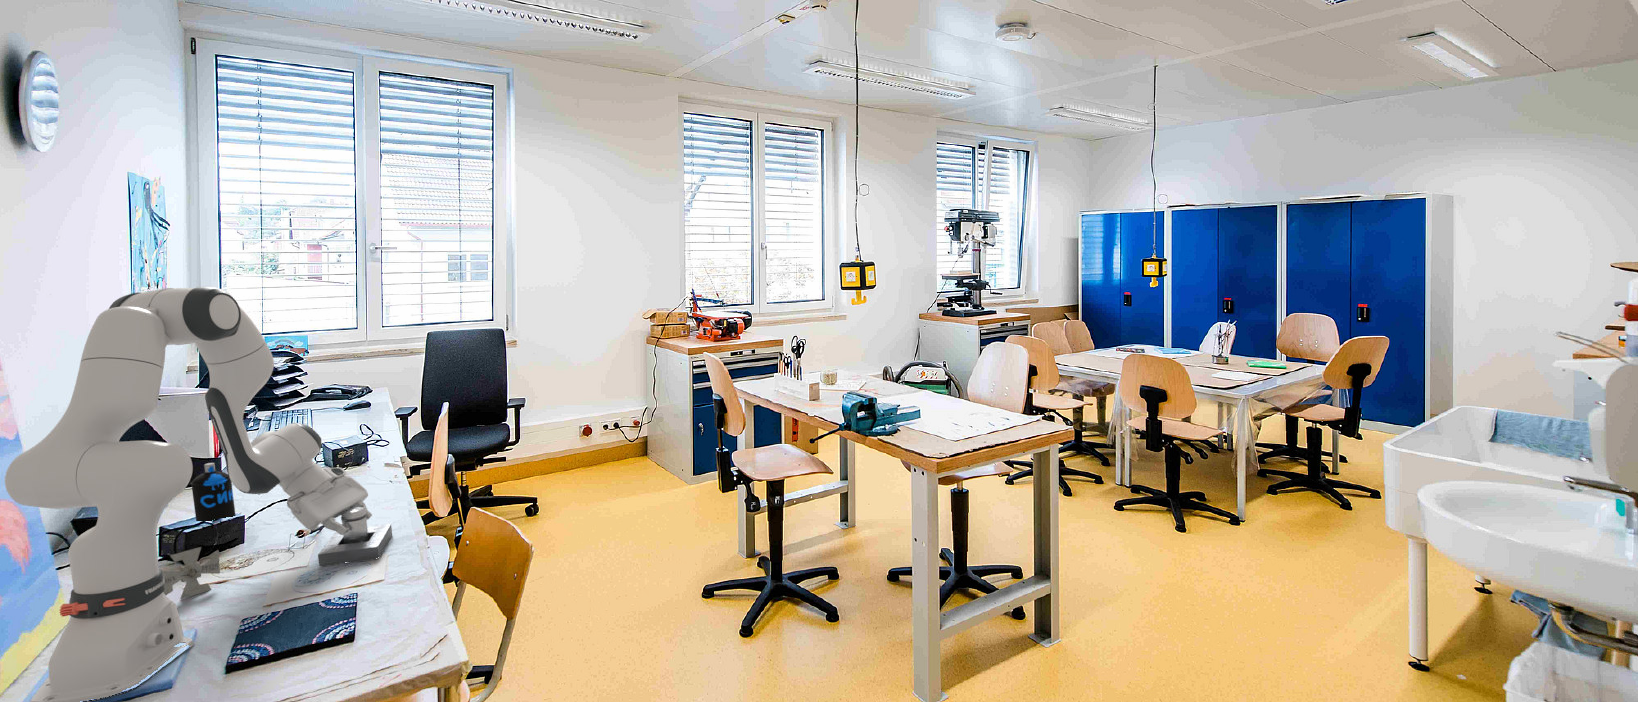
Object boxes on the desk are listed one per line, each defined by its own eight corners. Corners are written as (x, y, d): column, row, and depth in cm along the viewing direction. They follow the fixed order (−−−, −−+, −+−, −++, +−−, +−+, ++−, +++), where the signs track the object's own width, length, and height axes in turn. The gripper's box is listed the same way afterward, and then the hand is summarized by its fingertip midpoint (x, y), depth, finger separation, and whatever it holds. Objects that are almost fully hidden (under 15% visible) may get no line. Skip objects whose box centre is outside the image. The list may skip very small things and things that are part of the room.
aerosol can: (191, 543, 186) (181, 466, 184) (229, 532, 194) (220, 457, 191) (207, 549, 182) (197, 470, 180) (246, 537, 190) (236, 461, 187)
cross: (219, 584, 162) (213, 540, 161) (225, 586, 161) (220, 542, 160) (160, 604, 153) (154, 557, 152) (166, 606, 152) (160, 560, 151)
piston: (367, 552, 178) (363, 512, 177) (342, 556, 177) (337, 515, 175) (372, 545, 183) (368, 505, 182) (347, 548, 182) (343, 508, 180)
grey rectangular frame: (378, 558, 175) (377, 546, 174) (319, 566, 171) (317, 554, 170) (392, 535, 190) (391, 524, 189) (337, 542, 186) (336, 530, 185)
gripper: (291, 491, 167) (339, 531, 169) (346, 465, 187) (388, 502, 189) (273, 510, 168) (321, 551, 169) (329, 483, 188) (372, 519, 189)
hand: (357, 525), depth 179 cm, fingers open, 8 cm apart
